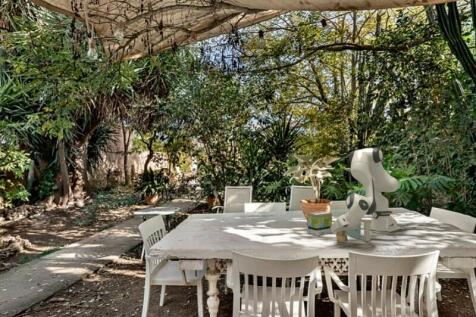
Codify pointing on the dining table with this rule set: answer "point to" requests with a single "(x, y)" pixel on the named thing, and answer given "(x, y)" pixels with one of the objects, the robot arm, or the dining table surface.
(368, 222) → the jamb
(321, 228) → the tea box
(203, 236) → the dining table surface
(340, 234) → the doorstop
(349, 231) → the door
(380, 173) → the robot arm
